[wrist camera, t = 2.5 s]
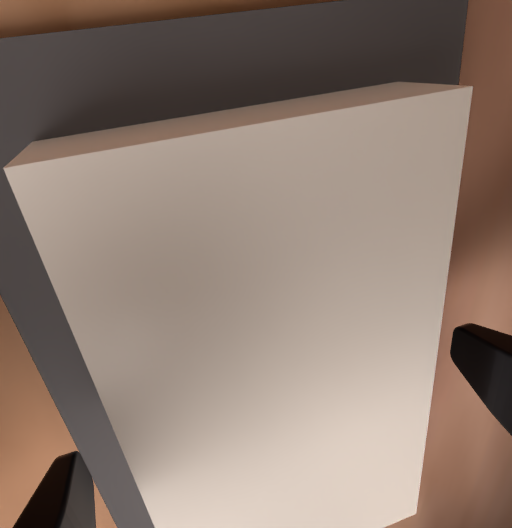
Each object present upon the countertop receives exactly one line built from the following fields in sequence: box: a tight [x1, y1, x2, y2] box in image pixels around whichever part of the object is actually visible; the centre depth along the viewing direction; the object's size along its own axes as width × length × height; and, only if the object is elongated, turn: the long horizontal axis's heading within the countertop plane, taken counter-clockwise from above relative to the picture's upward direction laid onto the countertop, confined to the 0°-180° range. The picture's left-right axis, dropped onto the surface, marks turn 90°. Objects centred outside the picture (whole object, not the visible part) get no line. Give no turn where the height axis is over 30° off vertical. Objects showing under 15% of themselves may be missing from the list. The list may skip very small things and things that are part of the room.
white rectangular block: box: [3, 82, 473, 528], centre depth 9 cm, size 12×7×2 cm, turn 7°
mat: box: [0, 0, 468, 528], centre depth 10 cm, size 15×10×1 cm, turn 7°
